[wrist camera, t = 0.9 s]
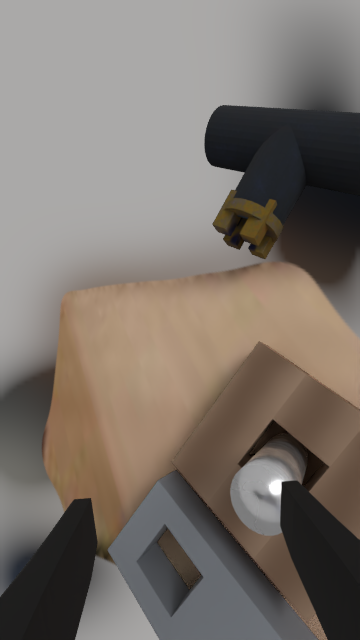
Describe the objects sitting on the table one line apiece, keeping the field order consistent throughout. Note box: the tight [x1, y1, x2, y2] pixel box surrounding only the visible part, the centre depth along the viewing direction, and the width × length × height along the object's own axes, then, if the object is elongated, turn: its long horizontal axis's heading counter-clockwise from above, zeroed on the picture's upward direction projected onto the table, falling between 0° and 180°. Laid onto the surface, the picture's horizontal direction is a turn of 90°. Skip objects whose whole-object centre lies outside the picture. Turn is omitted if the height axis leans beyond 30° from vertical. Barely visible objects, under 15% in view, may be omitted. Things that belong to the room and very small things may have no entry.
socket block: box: [172, 341, 360, 622], centre depth 20 cm, size 12×12×3 cm
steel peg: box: [230, 434, 308, 536], centre depth 17 cm, size 3×3×9 cm
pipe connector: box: [205, 105, 360, 259], centre depth 23 cm, size 12×5×15 cm
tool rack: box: [108, 470, 318, 640], centre depth 20 cm, size 18×8×3 cm, turn 51°
